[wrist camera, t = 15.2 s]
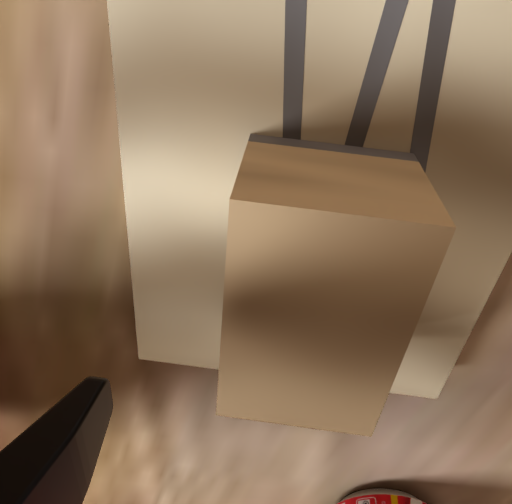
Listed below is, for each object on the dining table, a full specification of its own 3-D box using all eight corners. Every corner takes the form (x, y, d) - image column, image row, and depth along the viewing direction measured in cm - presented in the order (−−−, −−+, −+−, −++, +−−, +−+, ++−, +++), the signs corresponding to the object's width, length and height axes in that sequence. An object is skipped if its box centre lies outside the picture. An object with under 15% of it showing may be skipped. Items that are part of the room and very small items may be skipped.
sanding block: (357, 337, 16) (371, 436, 12) (234, 320, 16) (215, 415, 13) (413, 153, 12) (456, 227, 9) (250, 133, 12) (229, 199, 9)
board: (428, 370, 18) (436, 399, 17) (149, 332, 19) (138, 359, 18) (800, -435, 7) (903, -518, 6) (96, -493, 8) (55, -583, 6)
